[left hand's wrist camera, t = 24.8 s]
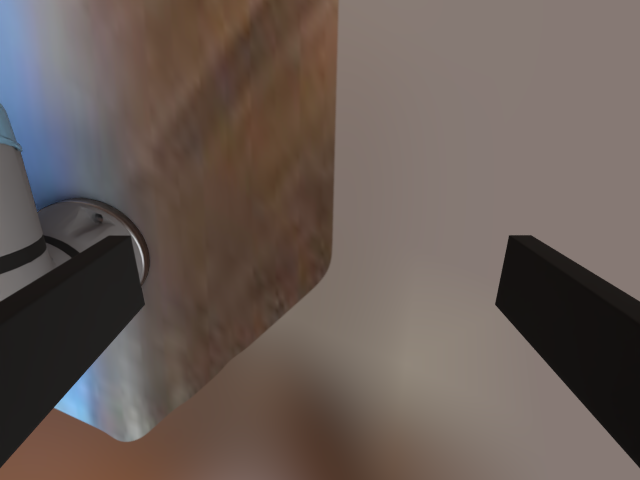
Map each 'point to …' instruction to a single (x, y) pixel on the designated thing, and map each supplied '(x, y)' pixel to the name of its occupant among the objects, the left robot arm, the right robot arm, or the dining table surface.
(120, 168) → the dining table surface
